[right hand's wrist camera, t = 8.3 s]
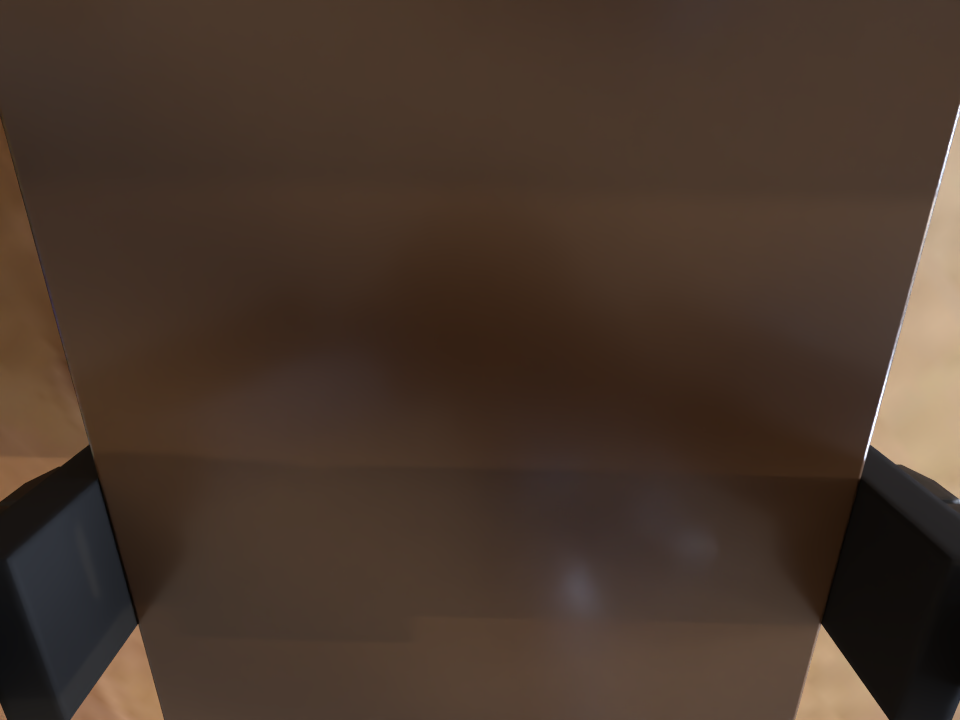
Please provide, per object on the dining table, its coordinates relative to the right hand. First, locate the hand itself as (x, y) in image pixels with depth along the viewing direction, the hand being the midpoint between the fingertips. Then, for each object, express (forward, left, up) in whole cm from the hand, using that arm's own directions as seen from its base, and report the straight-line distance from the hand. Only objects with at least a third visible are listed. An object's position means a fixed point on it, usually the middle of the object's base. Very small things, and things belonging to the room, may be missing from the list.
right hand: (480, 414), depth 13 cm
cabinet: (0, -4, -5) cm, 6 cm away
